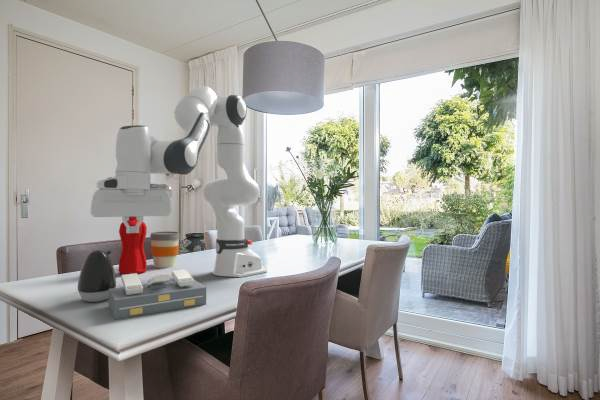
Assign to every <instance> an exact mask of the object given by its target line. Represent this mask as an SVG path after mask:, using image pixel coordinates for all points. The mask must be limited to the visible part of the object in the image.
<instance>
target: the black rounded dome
mask: <svg viewBox="0 0 600 400" xmlns="http://www.w3.org/2000/svg"><path fill="white" fill-rule="evenodd" d="M111 254H112V250H111V249H109V250H107V251H104V250H103V249H95V250H93V251H91V252H89V253H88V254H87V256H86V257H85V259H84V262H83V263H82V266H81V268H80V269H81V270H80V272H79V277H78V283H77V292H78V293H79V296H80V298H81V299H82V300H84V301H86V302H88V303H98V302H99V303H100V302H103V301H106V300H109V289H112V288H117V279H116V273H115V272H116V271H115V268H114V264H113V262H112V260H111V258H110V256H109V255H111Z"/></svg>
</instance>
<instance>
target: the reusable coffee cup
mask: <svg viewBox="0 0 600 400" xmlns="http://www.w3.org/2000/svg"><path fill="white" fill-rule="evenodd" d="M180 236H181V235H180V232H179V231H155V232H151V233H150V237H149V240H150V250H151V251H150V252H151V256H152V260H153V261H152V262H153V267H154V268H155V267H156V268H157V269H169V267H170V268H174V267H176V263H177V257H178V255H179V250H180V249H179V248H180V244H179V242H180V239H181V238H180Z"/></svg>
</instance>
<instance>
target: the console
mask: <svg viewBox="0 0 600 400" xmlns="http://www.w3.org/2000/svg"><path fill="white" fill-rule="evenodd" d="M142 286H143V293H137V294H130V295H126V292H125V289H124V286H122V287H121V286H120V287H115V288H112V289H109V298H108V308H109V309H110V312H111V314H112V316H113V318H114V320H115V319H116V320H121V319H126V318H132V317H137V316H144V315H149V314H150V315H151V314H157V313H162V312H169V311H175V310H180V309H185V308H191V307H197V306H202V305H207V287H206V286H205V285H204V284H202V283H200V282H199V281H197V280H195V279H194V285H189V286H181V287H180V286H179V284H178V283H177V282H176V280H169V281H167V282H165V283H163V284H156V285H150V286H148V283H146V284H145V283H144V284H142Z"/></svg>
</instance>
